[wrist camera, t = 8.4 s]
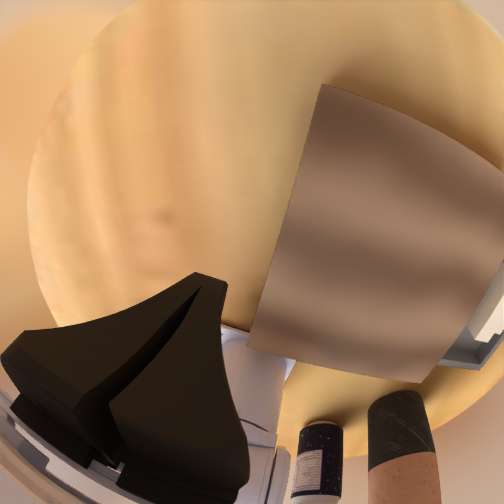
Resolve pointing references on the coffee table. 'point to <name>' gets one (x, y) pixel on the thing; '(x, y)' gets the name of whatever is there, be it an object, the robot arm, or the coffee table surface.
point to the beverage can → (319, 464)
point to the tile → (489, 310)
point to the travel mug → (401, 452)
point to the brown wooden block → (380, 244)
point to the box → (470, 351)
